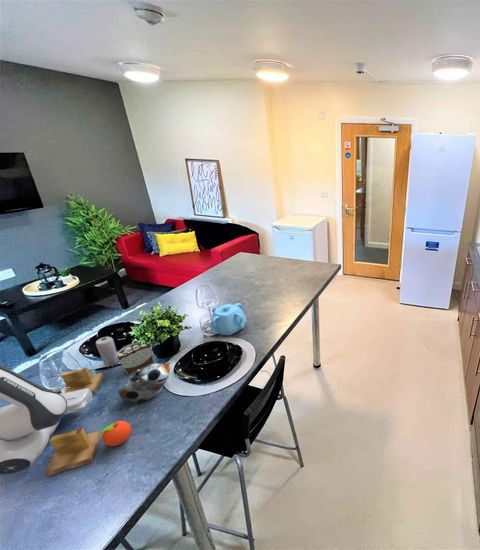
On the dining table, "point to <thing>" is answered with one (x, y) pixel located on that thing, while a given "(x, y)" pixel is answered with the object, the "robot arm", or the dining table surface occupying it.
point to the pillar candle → (107, 351)
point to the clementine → (116, 433)
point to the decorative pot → (228, 319)
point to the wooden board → (75, 456)
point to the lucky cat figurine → (145, 383)
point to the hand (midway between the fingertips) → (60, 389)
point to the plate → (93, 386)
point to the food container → (135, 357)
